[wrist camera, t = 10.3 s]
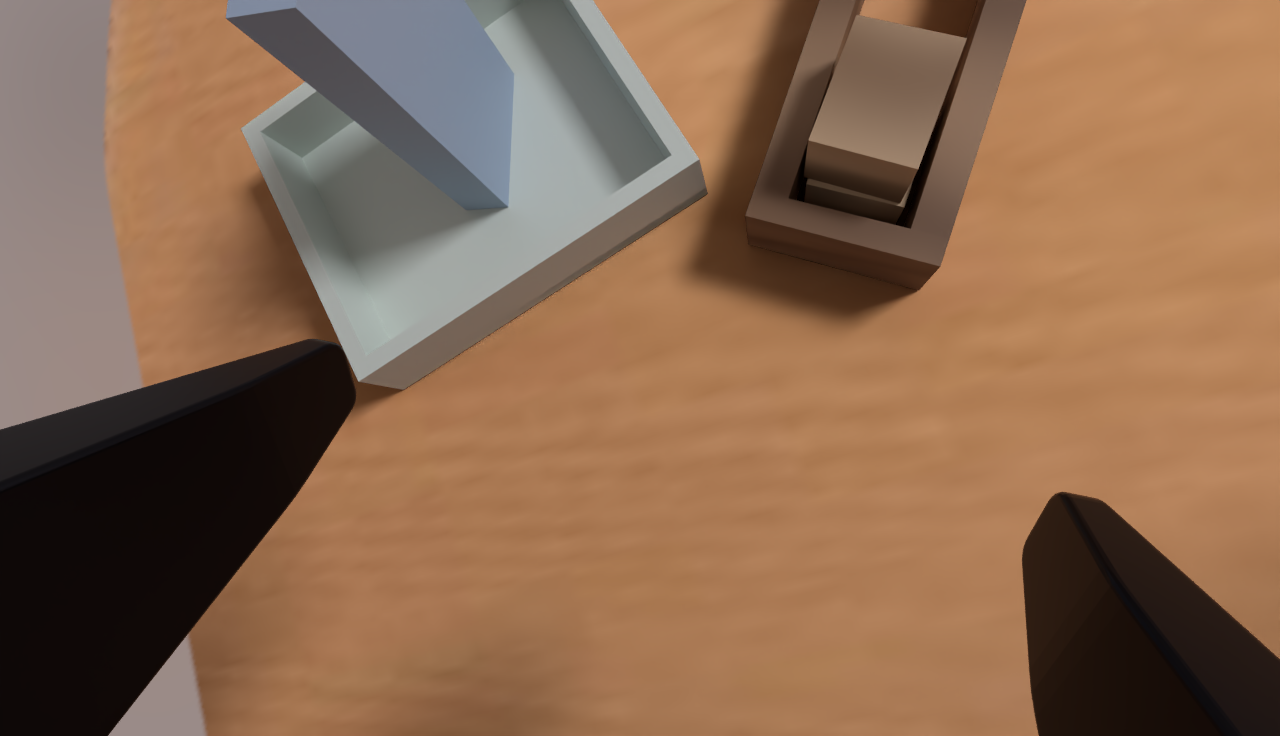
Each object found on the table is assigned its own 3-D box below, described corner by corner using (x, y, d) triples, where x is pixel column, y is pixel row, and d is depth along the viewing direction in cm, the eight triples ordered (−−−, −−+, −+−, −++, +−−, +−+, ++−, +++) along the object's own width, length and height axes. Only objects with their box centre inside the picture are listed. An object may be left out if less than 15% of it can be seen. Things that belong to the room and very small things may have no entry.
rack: (918, 290, 19) (940, 266, 17) (748, 244, 20) (745, 215, 18) (1057, -137, 20) (1097, -220, 17) (885, -156, 21) (900, -235, 19)
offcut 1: (900, 203, 18) (918, 169, 15) (803, 176, 18) (808, 140, 16) (943, 87, 18) (967, 38, 16) (846, 65, 18) (856, 14, 16)
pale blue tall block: (508, 207, 22) (295, 7, 12) (466, 210, 22) (226, 18, 12) (514, 74, 22) (317, -217, 13) (473, 79, 23) (250, -201, 13)
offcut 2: (890, 234, 20) (904, 207, 18) (802, 212, 20) (806, 183, 18) (928, 117, 20) (947, 77, 18) (841, 99, 21) (848, 58, 18)
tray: (403, 389, 22) (358, 381, 20) (293, 160, 24) (240, 128, 22) (707, 193, 21) (698, 159, 18) (560, -29, 23) (535, -86, 21)
